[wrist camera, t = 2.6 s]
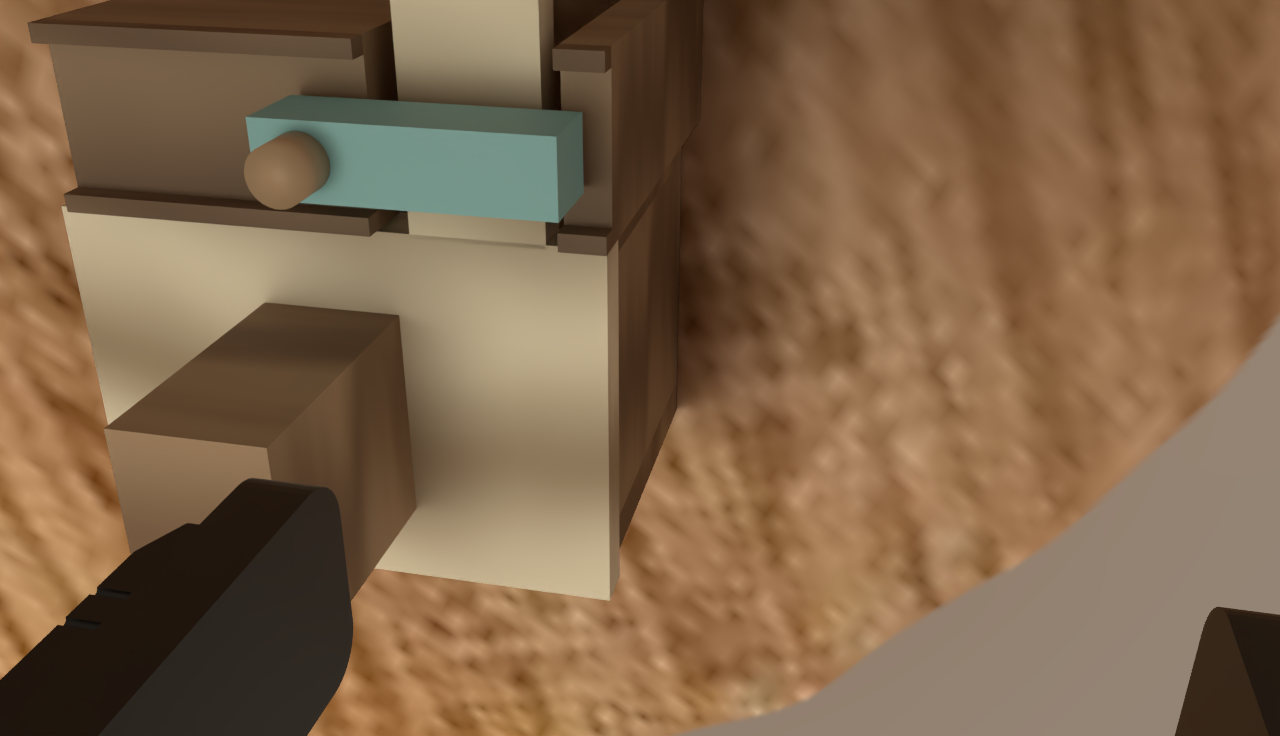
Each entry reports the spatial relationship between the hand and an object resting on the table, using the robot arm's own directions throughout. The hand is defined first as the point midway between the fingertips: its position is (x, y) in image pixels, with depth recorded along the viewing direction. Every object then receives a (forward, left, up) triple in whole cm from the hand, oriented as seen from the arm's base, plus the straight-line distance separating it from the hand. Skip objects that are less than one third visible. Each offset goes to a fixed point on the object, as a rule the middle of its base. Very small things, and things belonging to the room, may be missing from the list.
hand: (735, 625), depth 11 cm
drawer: (+6, -11, -15) cm, 20 cm away
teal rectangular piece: (0, -8, -13) cm, 16 cm away
